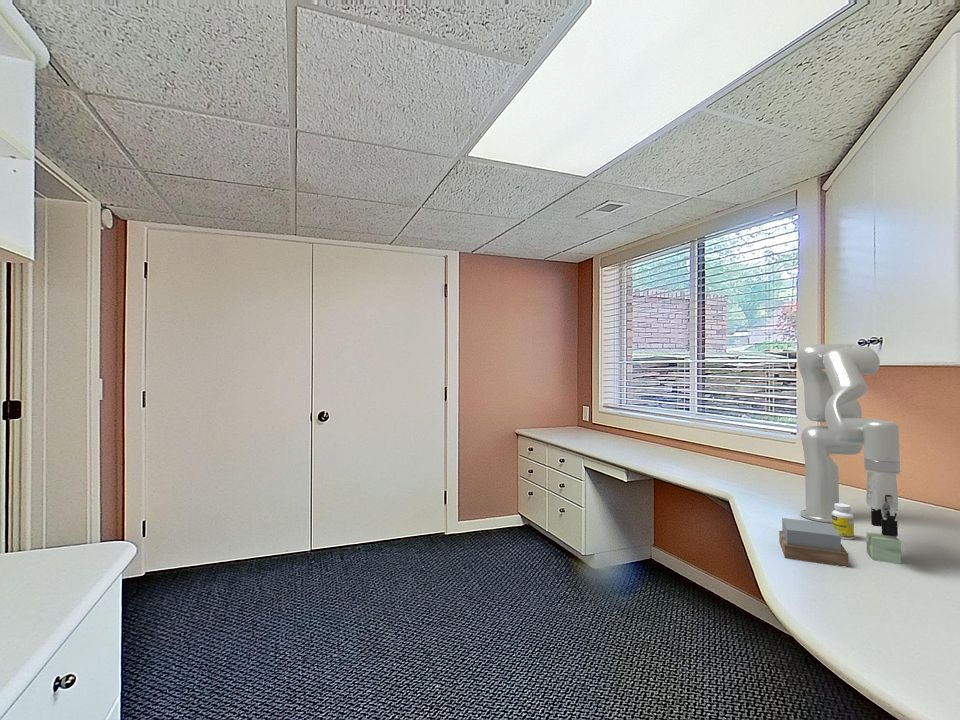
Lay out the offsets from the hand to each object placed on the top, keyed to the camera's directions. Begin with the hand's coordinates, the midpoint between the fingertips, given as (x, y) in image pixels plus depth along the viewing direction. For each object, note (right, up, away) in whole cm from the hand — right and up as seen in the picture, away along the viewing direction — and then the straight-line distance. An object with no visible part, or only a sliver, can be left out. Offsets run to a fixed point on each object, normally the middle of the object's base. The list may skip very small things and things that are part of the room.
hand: (884, 530), depth 132 cm
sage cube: (0, -8, 0) cm, 8 cm away
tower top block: (-17, -4, +4) cm, 18 cm away
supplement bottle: (+2, -8, +17) cm, 19 cm away
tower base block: (-17, -8, +3) cm, 19 cm away
